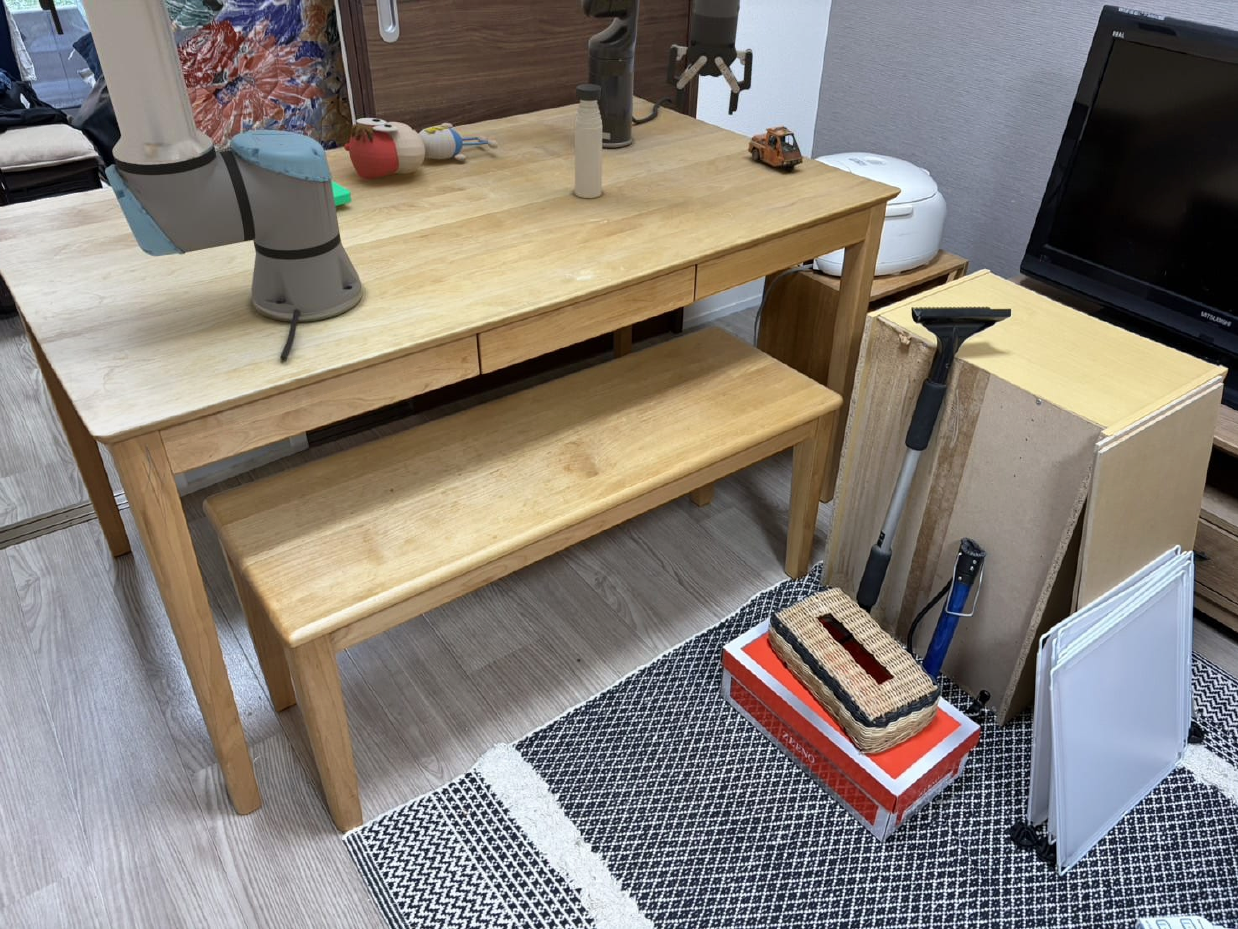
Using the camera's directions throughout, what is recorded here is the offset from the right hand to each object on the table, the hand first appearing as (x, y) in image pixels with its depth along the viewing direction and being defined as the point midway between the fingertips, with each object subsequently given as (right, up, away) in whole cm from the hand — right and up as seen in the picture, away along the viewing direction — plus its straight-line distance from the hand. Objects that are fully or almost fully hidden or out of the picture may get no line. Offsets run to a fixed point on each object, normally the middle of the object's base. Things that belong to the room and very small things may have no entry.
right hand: (705, 111), depth 160 cm
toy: (-53, -2, +21) cm, 57 cm away
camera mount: (-68, -15, +4) cm, 70 cm away
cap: (-20, +4, 0) cm, 21 cm away
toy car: (+16, 0, +27) cm, 31 cm away
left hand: (-96, +8, -14) cm, 97 cm away
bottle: (-21, -11, +11) cm, 26 cm away
